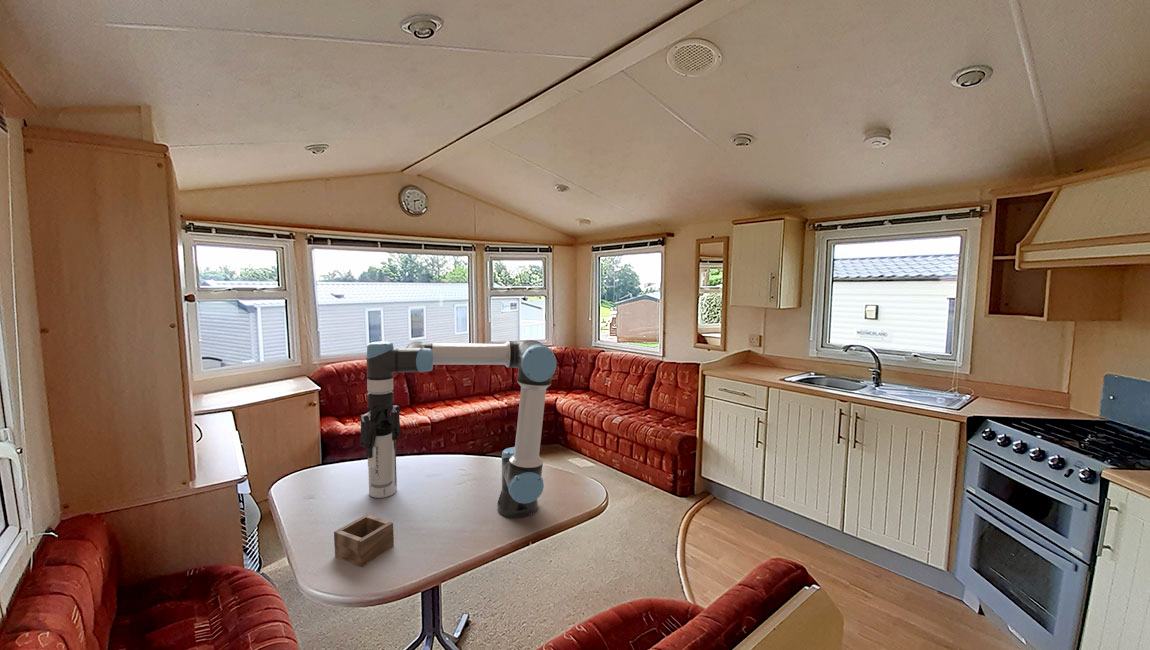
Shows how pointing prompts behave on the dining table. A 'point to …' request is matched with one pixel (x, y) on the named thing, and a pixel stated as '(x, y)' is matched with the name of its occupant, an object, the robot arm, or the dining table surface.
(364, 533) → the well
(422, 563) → the dining table surface
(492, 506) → the dining table surface
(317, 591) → the dining table surface
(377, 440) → the travel mug
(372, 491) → the speaker
